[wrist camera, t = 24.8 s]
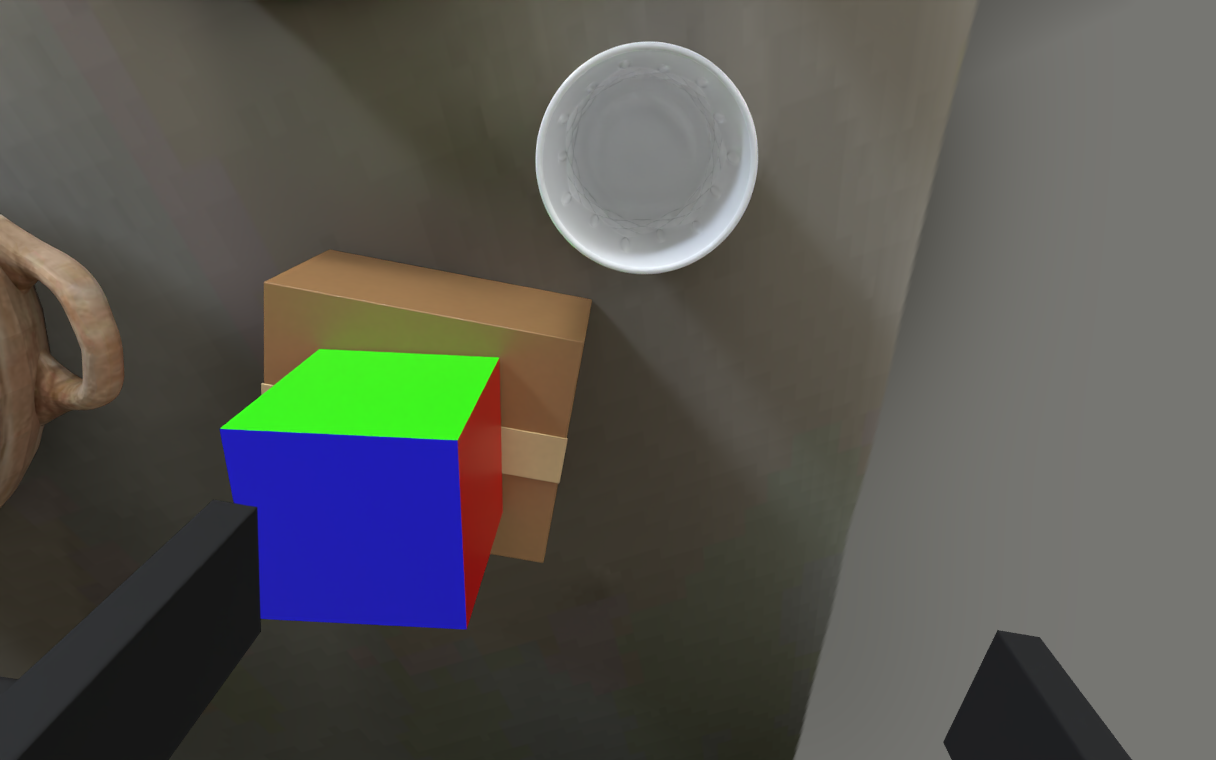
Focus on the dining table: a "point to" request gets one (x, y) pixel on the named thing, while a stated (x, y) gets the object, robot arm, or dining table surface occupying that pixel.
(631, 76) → the white cup
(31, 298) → the ceramic bowl
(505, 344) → the cardboard box
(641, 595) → the dining table surface
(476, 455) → the cube
